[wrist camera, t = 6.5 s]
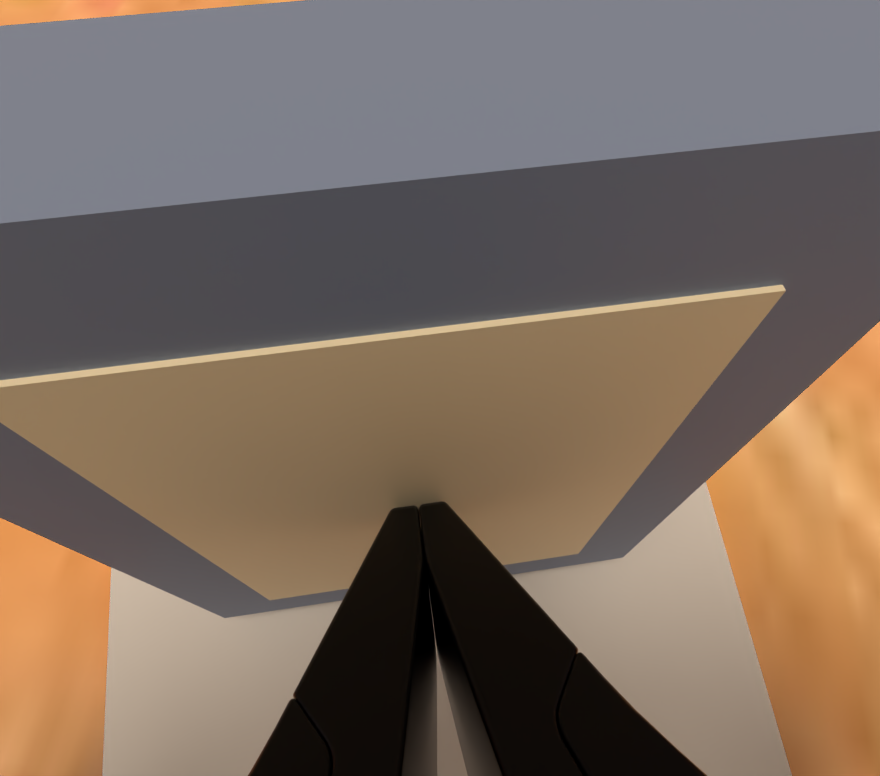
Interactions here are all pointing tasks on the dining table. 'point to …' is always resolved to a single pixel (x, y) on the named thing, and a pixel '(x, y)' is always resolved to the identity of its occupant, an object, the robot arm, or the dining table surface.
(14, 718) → the dining table surface
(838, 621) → the dining table surface
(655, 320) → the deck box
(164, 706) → the mat
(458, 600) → the robot arm
